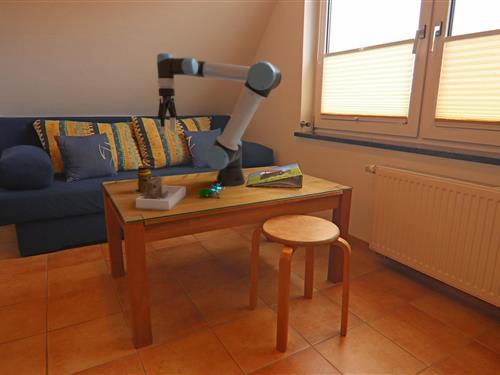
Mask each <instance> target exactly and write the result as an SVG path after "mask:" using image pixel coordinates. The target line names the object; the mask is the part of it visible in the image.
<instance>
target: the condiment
mask: <svg viewBox="0 0 500 375" xmlns="http://www.w3.org/2000/svg"><path fill="white" fill-rule="evenodd" d="M151 173H152V172H151V170H150V166H149V165H141V166H138V167H137V185H138V187H137V188H134V190H133V194H143V193H146V184H145V182H147V181H148V180H150V179H152V176H151V175H152V174H151Z"/></svg>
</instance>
